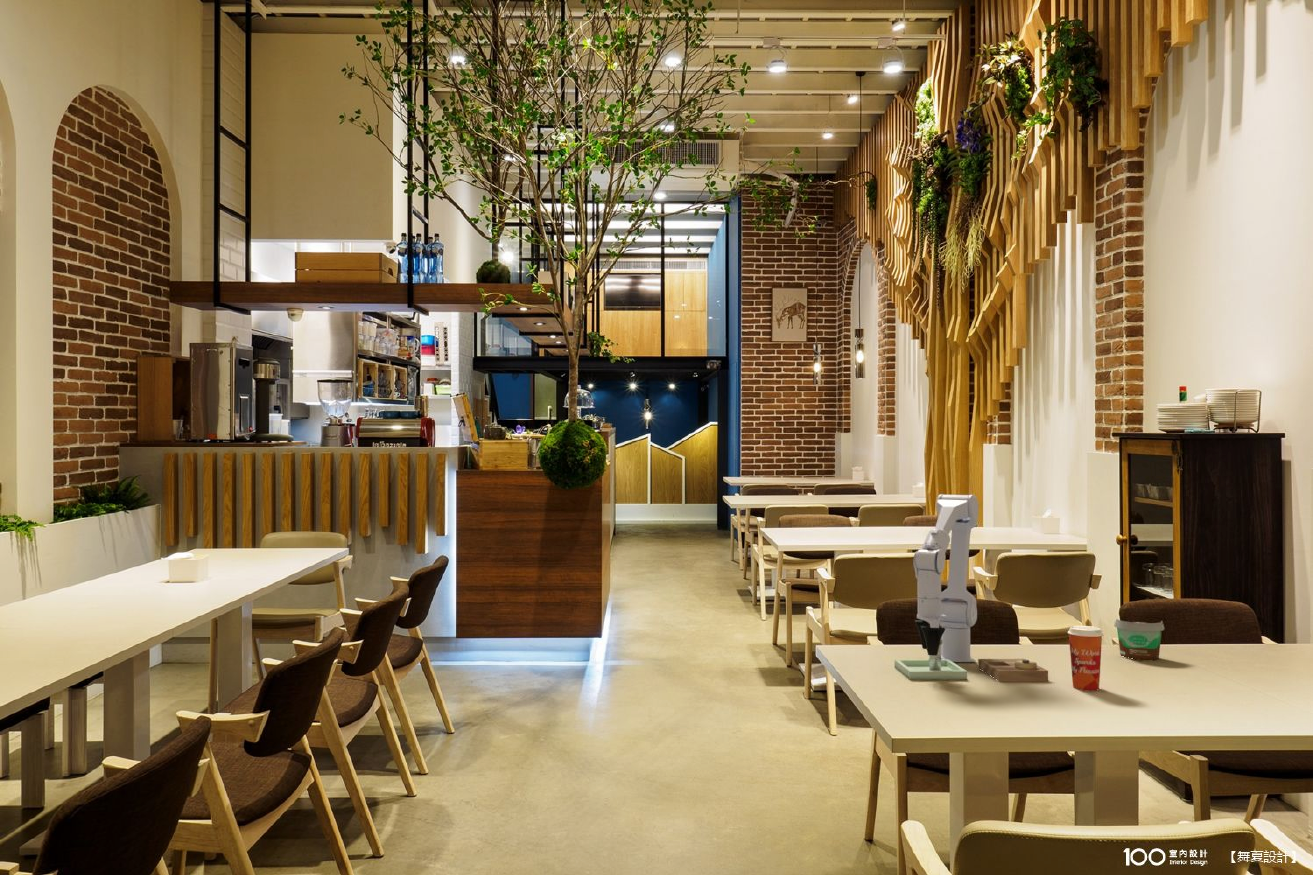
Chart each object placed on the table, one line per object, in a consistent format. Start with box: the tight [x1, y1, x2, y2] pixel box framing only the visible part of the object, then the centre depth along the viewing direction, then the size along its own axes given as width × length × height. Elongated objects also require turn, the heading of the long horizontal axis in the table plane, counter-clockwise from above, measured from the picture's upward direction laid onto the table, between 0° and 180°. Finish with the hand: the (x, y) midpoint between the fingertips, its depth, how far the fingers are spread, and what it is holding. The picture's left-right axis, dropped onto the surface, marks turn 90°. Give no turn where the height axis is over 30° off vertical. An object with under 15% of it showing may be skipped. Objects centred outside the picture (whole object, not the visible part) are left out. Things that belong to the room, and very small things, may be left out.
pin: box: [928, 639, 943, 671], centre depth 241 cm, size 4×4×8 cm
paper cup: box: [1067, 625, 1105, 691], centre depth 226 cm, size 8×8×14 cm
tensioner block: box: [977, 658, 1049, 682], centre depth 240 cm, size 14×12×4 cm
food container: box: [1113, 618, 1165, 661], centre depth 259 cm, size 12×6×10 cm, turn 73°
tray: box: [894, 658, 968, 681], centre depth 241 cm, size 14×14×2 cm
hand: (929, 651), depth 241 cm, fingers open, 7 cm apart
